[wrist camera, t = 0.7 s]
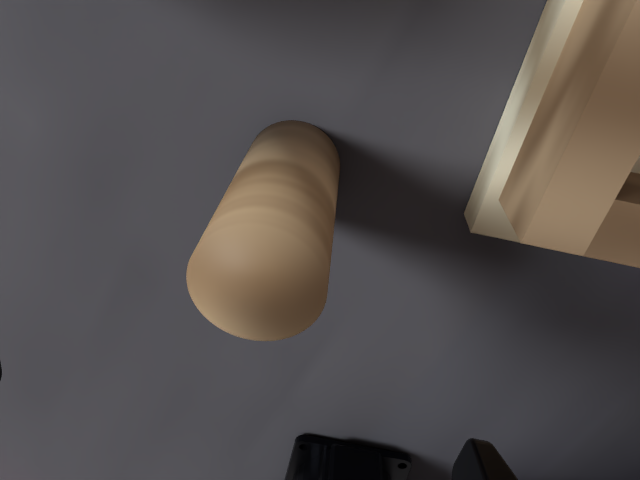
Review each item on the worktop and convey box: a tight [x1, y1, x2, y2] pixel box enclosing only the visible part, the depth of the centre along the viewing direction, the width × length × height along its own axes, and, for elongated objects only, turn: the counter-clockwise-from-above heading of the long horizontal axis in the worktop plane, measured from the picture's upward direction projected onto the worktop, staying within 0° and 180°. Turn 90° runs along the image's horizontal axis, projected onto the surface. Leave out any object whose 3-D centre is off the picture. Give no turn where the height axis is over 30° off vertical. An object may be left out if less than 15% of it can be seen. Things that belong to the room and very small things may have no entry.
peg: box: [187, 120, 340, 341], centre depth 16 cm, size 4×4×8 cm
